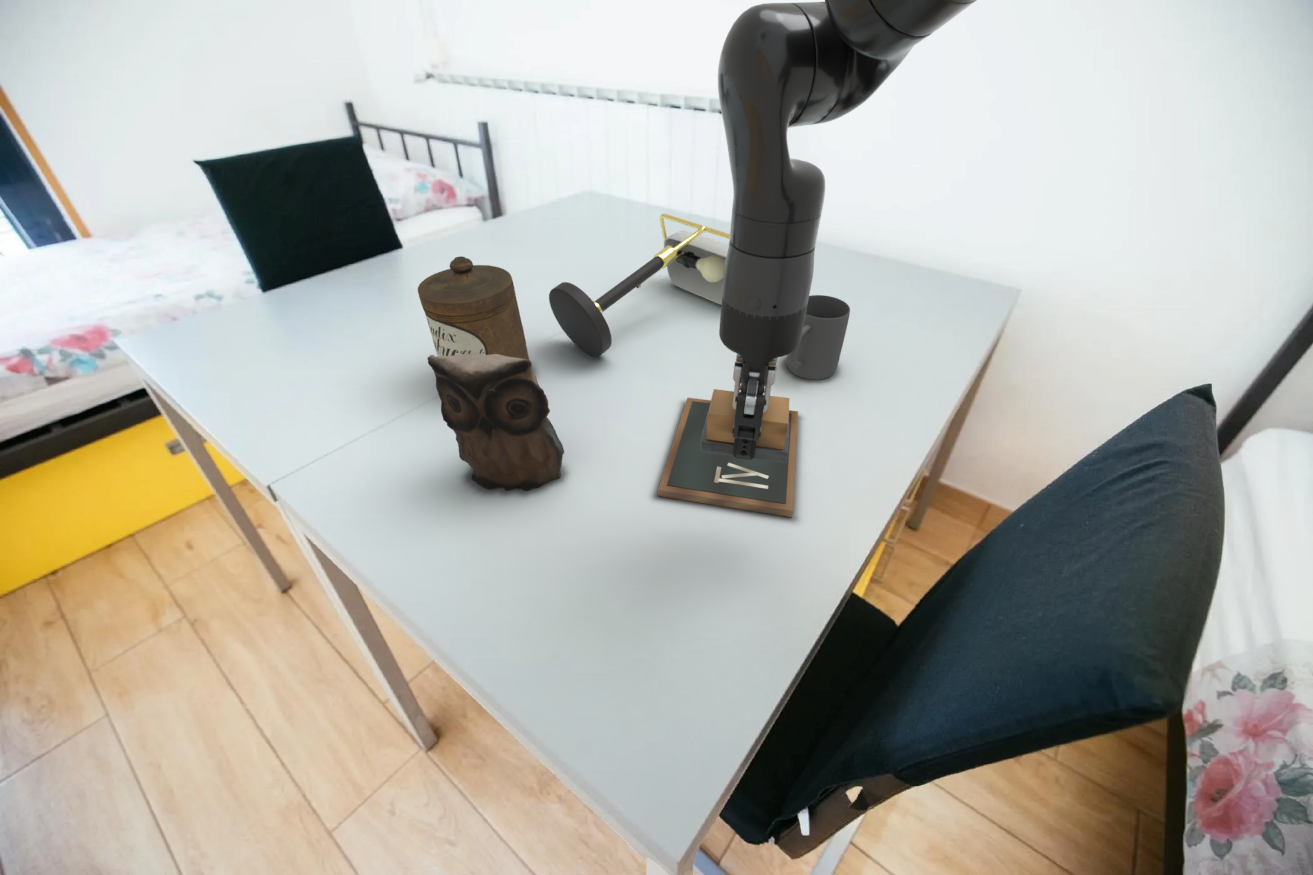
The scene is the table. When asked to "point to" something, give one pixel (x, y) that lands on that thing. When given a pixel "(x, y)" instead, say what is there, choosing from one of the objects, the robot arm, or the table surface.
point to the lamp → (688, 266)
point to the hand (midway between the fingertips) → (745, 438)
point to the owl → (498, 419)
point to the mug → (820, 338)
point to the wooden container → (473, 311)
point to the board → (727, 470)
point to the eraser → (772, 431)
